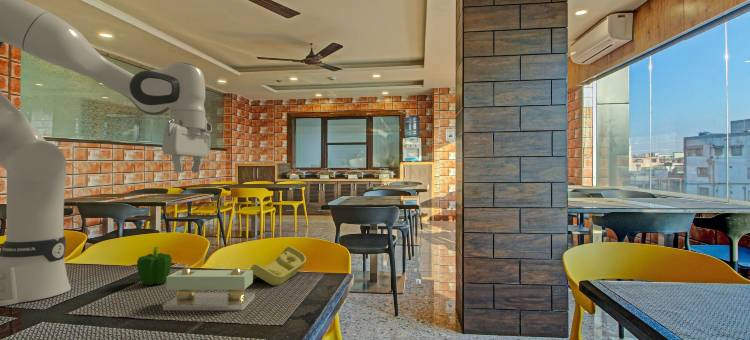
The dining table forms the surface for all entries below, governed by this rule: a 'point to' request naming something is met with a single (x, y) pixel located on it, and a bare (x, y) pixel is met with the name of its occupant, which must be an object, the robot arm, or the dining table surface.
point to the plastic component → (280, 267)
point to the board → (209, 280)
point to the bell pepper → (154, 267)
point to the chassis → (209, 299)
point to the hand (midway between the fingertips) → (187, 172)
